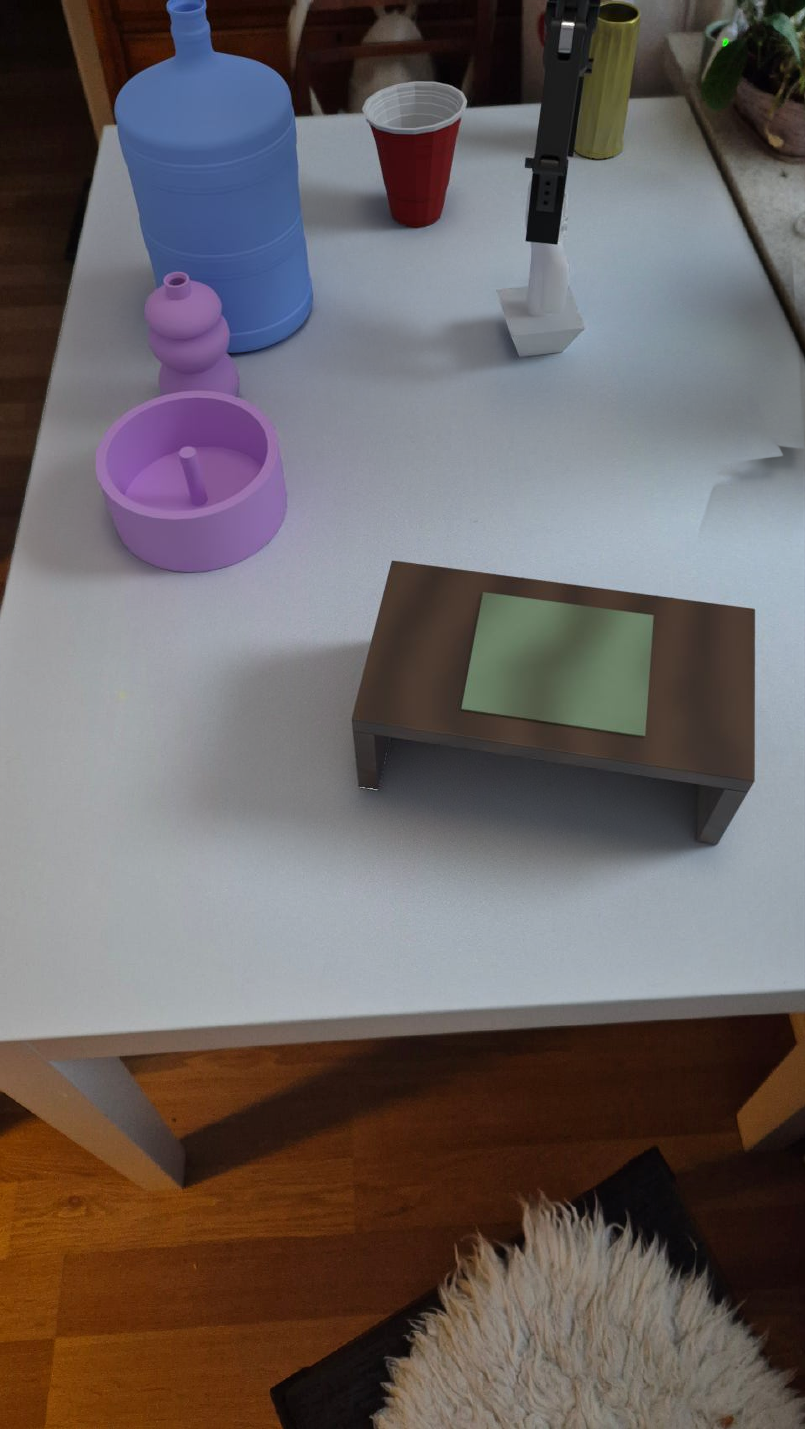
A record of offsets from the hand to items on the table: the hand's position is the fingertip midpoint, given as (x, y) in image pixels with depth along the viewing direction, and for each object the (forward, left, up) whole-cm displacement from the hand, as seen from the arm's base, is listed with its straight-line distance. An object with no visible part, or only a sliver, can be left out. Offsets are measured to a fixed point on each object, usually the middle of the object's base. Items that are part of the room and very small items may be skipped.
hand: (550, 196), depth 89 cm
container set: (+28, +23, -15) cm, 39 cm away
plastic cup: (+16, -20, -15) cm, 30 cm away
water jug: (+31, 0, -15) cm, 34 cm away
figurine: (0, 0, -15) cm, 15 cm away
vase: (-3, -37, -15) cm, 40 cm away
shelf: (-6, +46, -15) cm, 49 cm away
